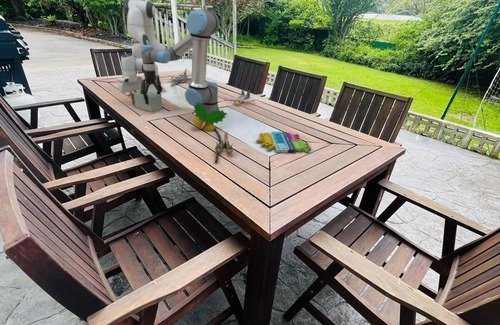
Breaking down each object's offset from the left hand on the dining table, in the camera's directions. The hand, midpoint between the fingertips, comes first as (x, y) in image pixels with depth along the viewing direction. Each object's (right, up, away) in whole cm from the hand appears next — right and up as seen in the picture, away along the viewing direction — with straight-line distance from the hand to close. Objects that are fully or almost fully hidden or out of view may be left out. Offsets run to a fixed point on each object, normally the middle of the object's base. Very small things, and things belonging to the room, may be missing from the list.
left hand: (133, 96), depth 197 cm
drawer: (+7, -6, -2) cm, 10 cm away
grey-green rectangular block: (+14, -9, -5) cm, 17 cm away
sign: (+107, -38, -44) cm, 122 cm away
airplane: (+17, +33, +72) cm, 81 cm away
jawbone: (+74, -44, -58) cm, 104 cm away
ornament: (+62, -28, -32) cm, 76 cm away
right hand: (+19, -6, -10) cm, 22 cm away
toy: (+81, +2, +24) cm, 84 cm away
